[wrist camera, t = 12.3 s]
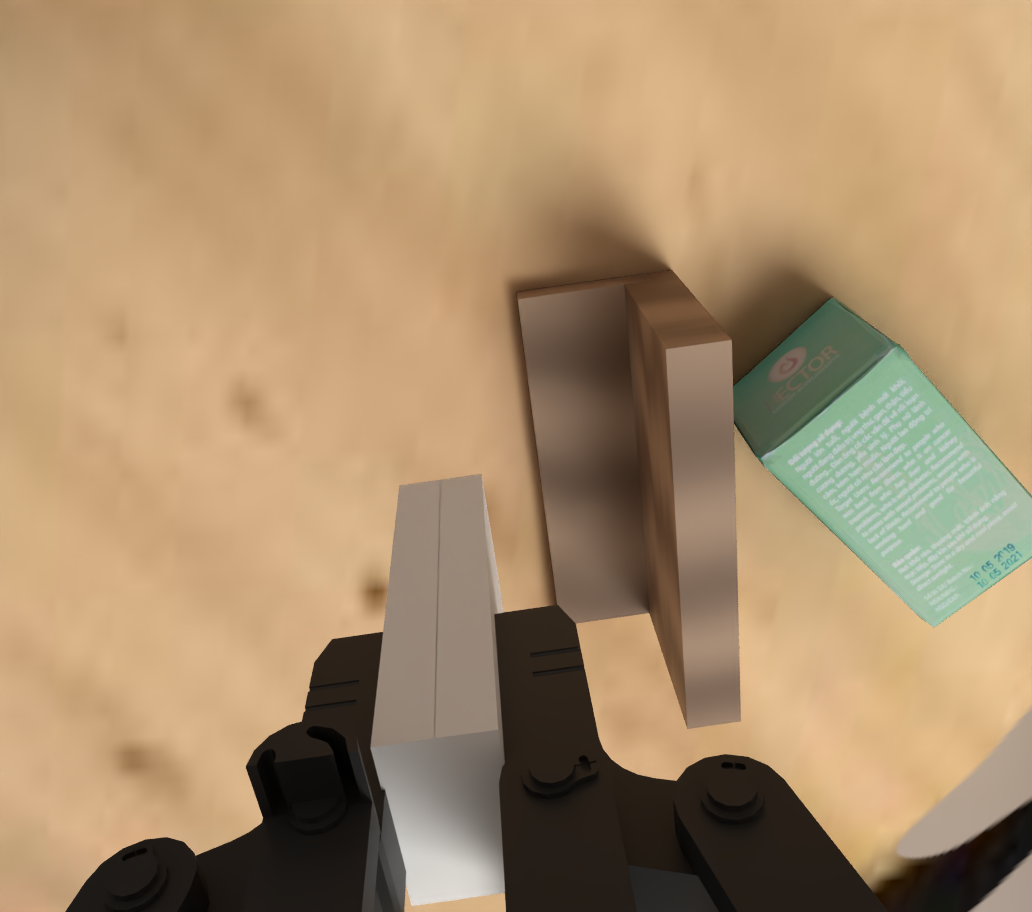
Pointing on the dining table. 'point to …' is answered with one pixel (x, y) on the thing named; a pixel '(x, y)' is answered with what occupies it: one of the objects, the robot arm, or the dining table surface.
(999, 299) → the dining table surface
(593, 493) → the walnut angle bracket
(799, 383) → the box
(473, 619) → the robot arm
